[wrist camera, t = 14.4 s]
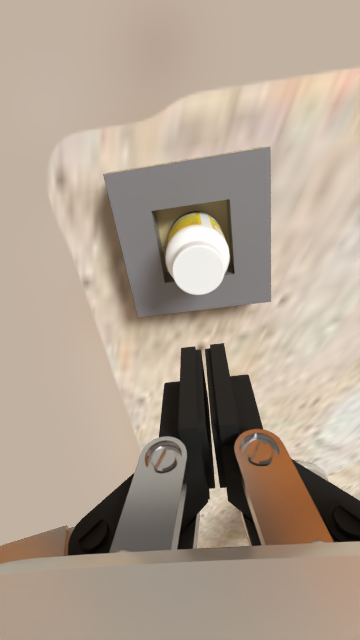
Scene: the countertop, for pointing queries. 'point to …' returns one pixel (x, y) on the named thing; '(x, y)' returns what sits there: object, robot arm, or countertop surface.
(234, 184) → the socket block
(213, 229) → the supplement bottle
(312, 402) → the countertop surface
